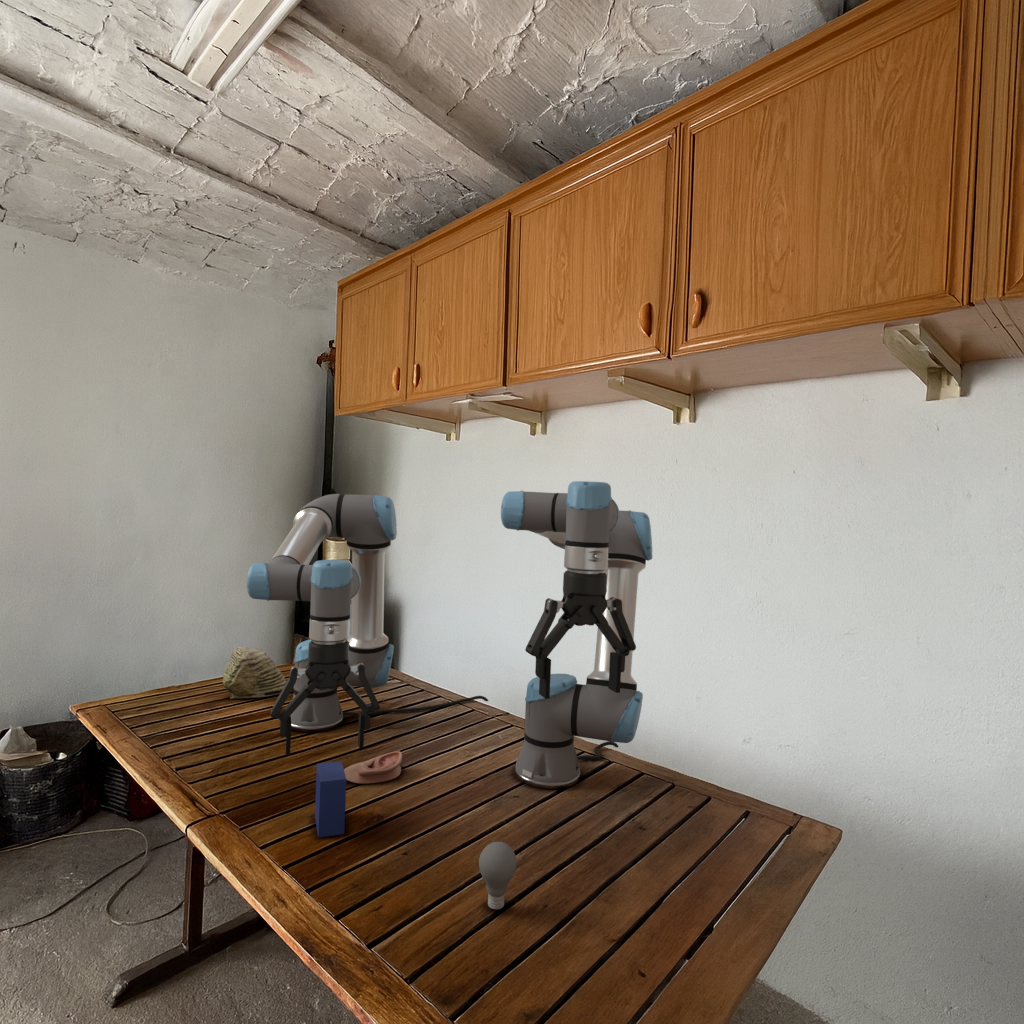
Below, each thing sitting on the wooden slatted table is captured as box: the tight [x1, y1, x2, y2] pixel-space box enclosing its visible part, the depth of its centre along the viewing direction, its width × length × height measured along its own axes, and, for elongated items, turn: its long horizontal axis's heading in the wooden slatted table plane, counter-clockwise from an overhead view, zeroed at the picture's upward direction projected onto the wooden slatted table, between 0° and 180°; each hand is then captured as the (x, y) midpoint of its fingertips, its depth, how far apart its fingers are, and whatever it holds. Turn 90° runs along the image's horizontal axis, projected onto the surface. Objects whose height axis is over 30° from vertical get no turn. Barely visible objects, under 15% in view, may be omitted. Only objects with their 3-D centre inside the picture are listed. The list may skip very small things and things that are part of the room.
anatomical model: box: [343, 750, 403, 784], centre depth 146 cm, size 13×4×12 cm
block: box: [314, 760, 347, 839], centre depth 122 cm, size 8×5×11 cm, turn 21°
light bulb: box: [478, 841, 518, 910], centre depth 100 cm, size 6×6×10 cm
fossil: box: [222, 646, 287, 699], centre depth 198 cm, size 9×18×15 cm, turn 132°
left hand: (324, 749), depth 123 cm, fingers open, 13 cm apart
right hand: (579, 693), depth 110 cm, fingers open, 13 cm apart
